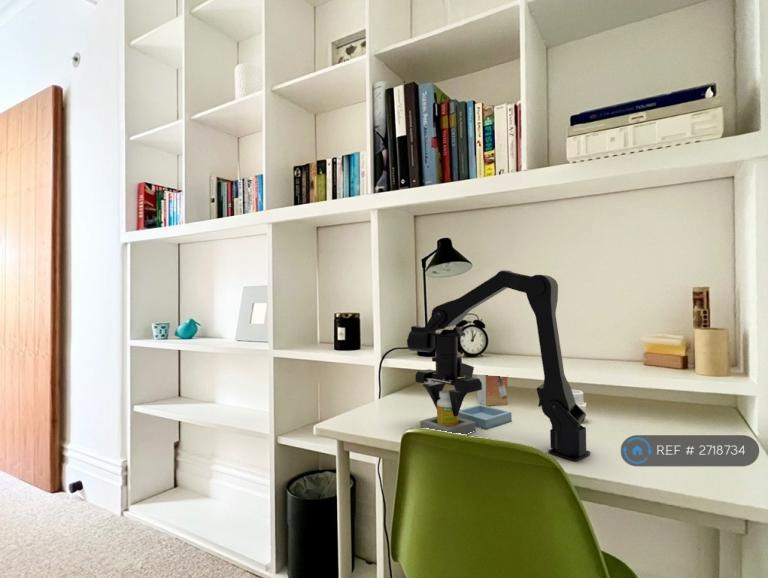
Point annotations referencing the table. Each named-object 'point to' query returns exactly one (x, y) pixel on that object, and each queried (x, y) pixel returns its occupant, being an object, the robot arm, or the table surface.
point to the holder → (461, 427)
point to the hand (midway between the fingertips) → (447, 413)
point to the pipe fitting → (579, 398)
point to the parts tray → (485, 416)
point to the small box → (493, 390)
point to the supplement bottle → (445, 410)
